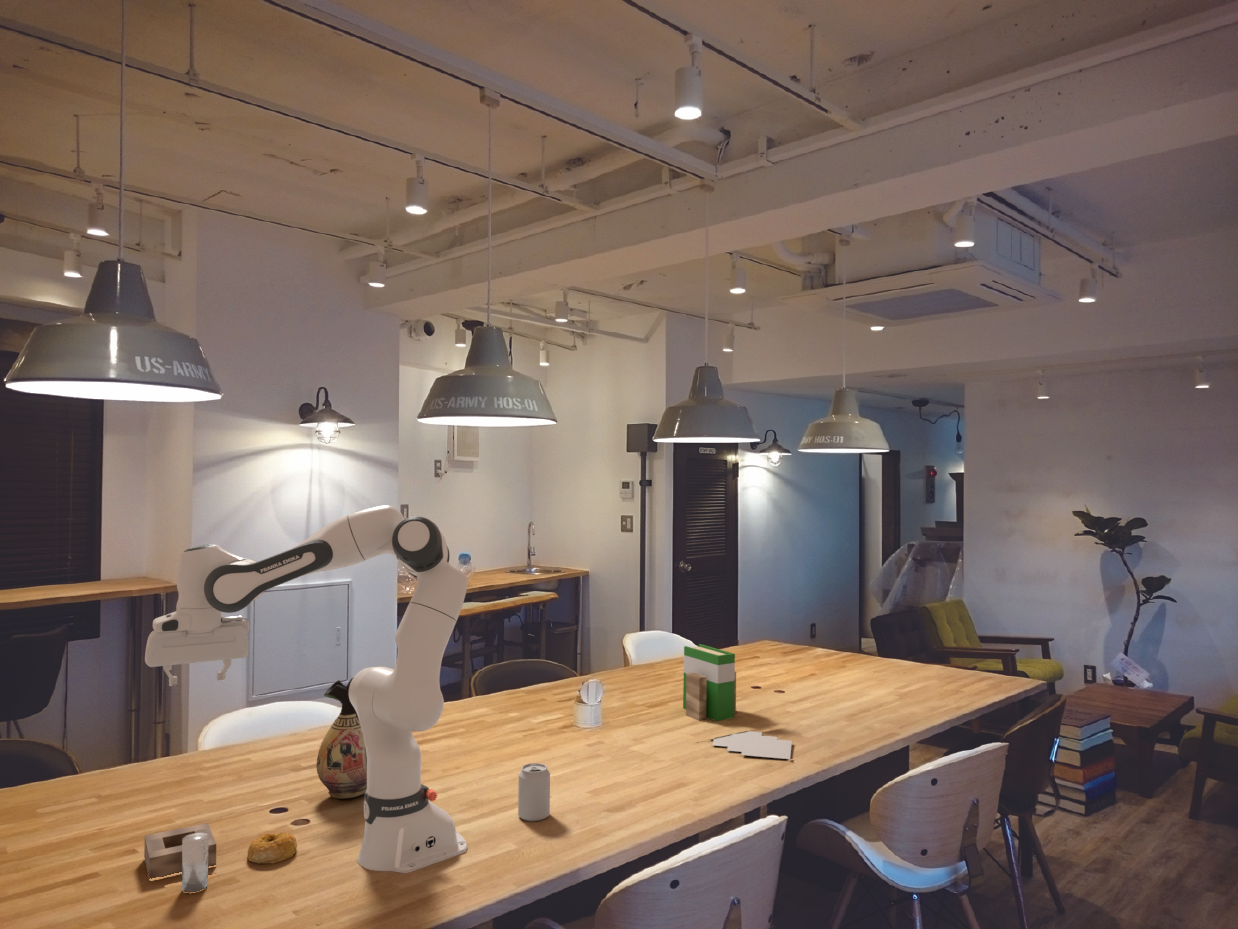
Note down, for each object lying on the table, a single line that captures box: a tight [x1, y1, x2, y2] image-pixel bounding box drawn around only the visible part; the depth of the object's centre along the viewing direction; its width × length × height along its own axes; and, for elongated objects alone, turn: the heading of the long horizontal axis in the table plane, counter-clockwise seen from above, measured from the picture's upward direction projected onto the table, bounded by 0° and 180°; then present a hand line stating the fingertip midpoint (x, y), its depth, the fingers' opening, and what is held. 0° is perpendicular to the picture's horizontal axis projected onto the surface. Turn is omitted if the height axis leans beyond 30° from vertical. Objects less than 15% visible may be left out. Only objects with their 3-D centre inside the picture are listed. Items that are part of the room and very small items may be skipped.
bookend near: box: [685, 672, 707, 721], centre depth 282 cm, size 3×7×14 cm, turn 34°
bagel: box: [247, 832, 298, 864], centre depth 179 cm, size 10×11×5 cm
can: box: [517, 762, 551, 822], centre depth 200 cm, size 8×8×12 cm
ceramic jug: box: [316, 676, 367, 799], centre depth 214 cm, size 17×15×30 cm
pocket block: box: [143, 822, 217, 880], centre depth 175 cm, size 12×12×5 cm
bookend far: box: [734, 671, 737, 714], centre depth 289 cm, size 3×7×14 cm, turn 33°
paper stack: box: [712, 730, 793, 760], centre depth 256 cm, size 23×25×1 cm
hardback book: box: [682, 643, 736, 722], centre depth 287 cm, size 18×7×24 cm, turn 35°
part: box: [181, 833, 209, 893], centre depth 164 cm, size 4×4×10 cm
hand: (197, 682), depth 184 cm, fingers open, 8 cm apart
